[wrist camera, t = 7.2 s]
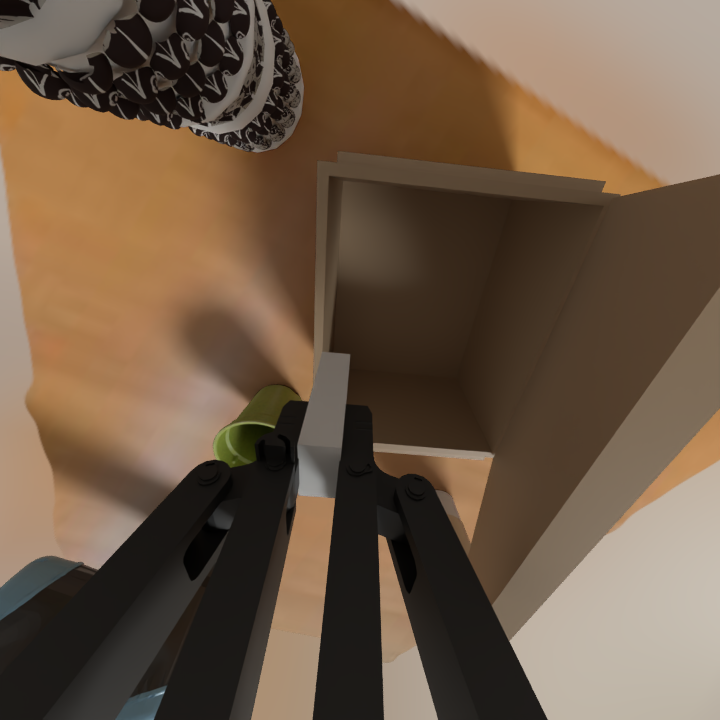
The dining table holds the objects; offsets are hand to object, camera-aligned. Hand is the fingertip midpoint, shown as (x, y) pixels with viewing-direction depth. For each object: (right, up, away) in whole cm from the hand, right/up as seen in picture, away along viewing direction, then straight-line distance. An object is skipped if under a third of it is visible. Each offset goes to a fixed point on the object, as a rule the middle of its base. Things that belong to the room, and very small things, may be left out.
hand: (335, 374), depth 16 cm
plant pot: (-9, -5, +22) cm, 24 cm away
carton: (+6, +8, +14) cm, 18 cm away
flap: (+10, -2, -2) cm, 10 cm away
